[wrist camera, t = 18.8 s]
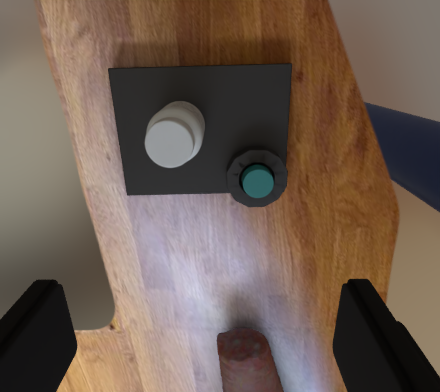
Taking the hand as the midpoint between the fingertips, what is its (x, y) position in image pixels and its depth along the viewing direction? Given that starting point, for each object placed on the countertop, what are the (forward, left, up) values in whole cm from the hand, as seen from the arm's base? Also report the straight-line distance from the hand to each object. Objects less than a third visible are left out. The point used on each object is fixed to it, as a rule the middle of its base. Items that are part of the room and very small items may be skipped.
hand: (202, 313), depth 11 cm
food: (-5, +32, -23) cm, 40 cm away
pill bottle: (+3, -3, -21) cm, 22 cm away
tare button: (-4, +2, -20) cm, 20 cm away
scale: (+1, -2, -23) cm, 23 cm away
